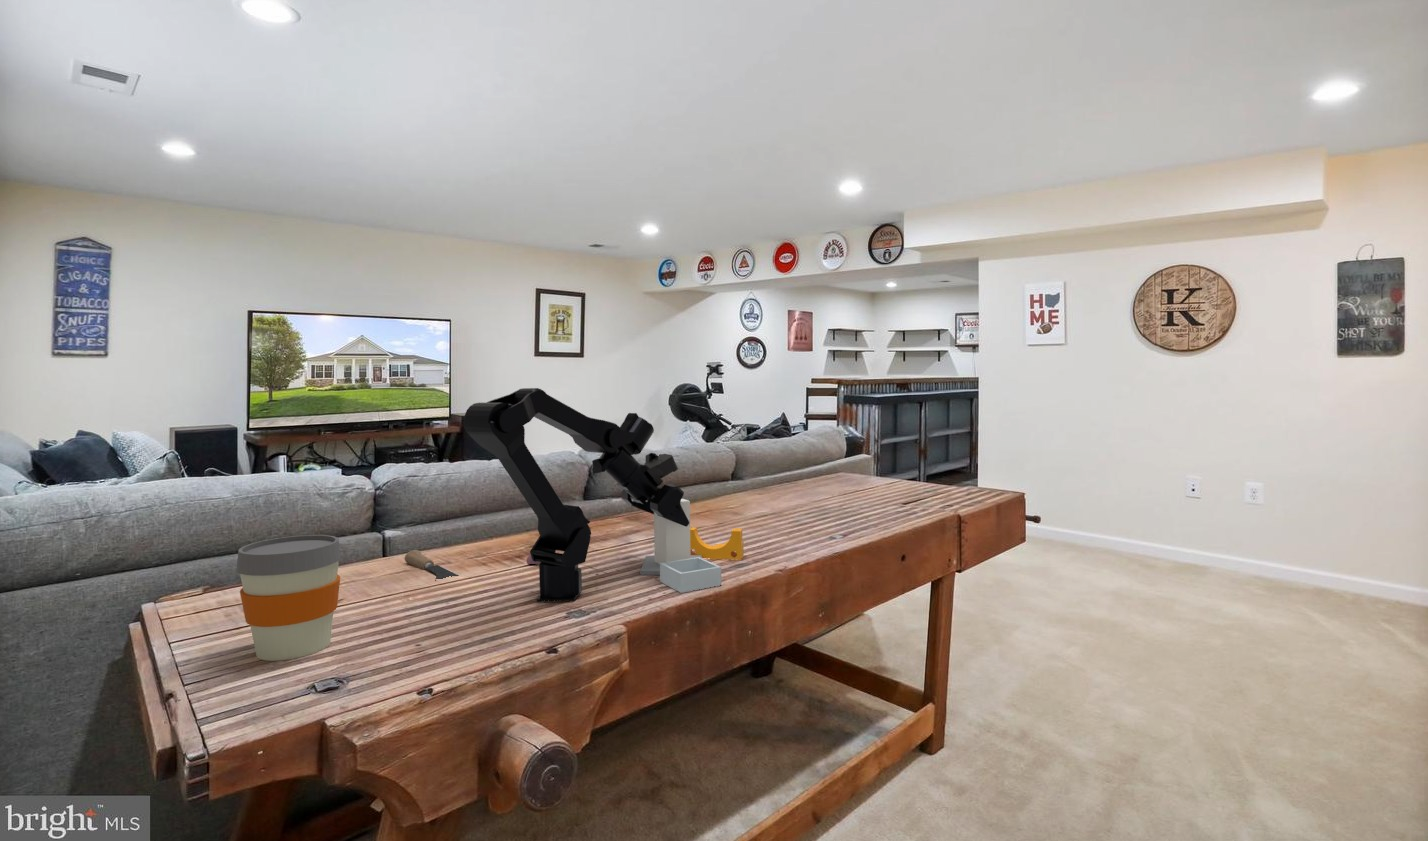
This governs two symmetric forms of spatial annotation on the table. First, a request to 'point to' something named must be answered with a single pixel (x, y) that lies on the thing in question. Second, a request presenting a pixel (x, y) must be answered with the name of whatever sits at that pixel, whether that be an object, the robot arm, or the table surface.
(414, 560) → the hand tool
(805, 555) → the table surface
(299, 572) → the reusable coffee cup
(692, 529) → the pipe clamp
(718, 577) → the sleeve
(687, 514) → the tall block
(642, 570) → the mat
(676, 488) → the robot arm
